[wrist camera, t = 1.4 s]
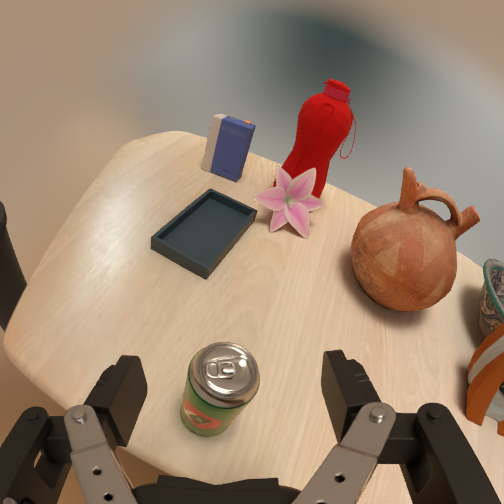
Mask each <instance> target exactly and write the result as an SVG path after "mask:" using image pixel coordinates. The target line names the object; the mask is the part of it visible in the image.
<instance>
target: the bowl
mask: <svg viewBox="0 0 504 504" xmlns="http://www.w3.org/2000/svg"><path fill="white" fill-rule="evenodd" d="M483 274H484V279H485V281H484V284H483V288H482V291H481V294H480V300H479V308H480V315H479V325H480V329H481V331H482V333H483V335H484V337H485V338H486V337H487V336H489V335H490V334H491V333H492V332H493V331H494V330H496V329H497V328H498V327H499V326H500V325H501V324H502V323H504V263H502V262H501V261H498V260H496V259H489V260H487V261H486V262H485V263H484V266H483Z"/></svg>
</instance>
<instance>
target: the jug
mask: <svg viewBox="0 0 504 504" xmlns="http://www.w3.org/2000/svg"><path fill="white" fill-rule="evenodd" d="M423 200H436V201H441V202H443V203H445V204H446V205H447V207H448V208H449V210H450V213H451V218H450V219H449V220H447V221H444V220H443V219H442V218H441V217H440V216H439V215H437V214H436V213H435V212H433V211H432V210H430V209H428V208H426V207H424V206H422V205H419V201H423ZM479 221H480V217H479V215H478V213H477V212H476V210H475V209H474V207H473V206H470V207H468V208H467V209H465V210H464V211H463V212H461V213H459V212H458V209H457V207H456V205H455V203H454V201H453V200H452V199H451V197H450V196H448V195H447V194H446V193H445V192H443V191H442V190H438V189H435V188H434V189H433V188H428V189H427V188H426V186H425V185H424V184H423V183H421V182H416V178H415V174H414V171H413V170H412V169H411V168H409V167H405V169H404V171H403V181H402V188H401V197H400V201H399V202H394V203H389V204H386V205H383V206H381V207H378V208H376V209H374V210H372V211H370V212H368V213H367V214H366V215H365V216H363V217H362V218H361V220H360V222H359V223H358V226H357V228H356V231H355V233H354V236H353V240H352V262H353V267H354V271H355V275H356V278H357V280H358V282H359V284H360V286H361V287H362V289H363V290H364V292H365V293H366V294H367V295H368V296H369V297H370V298H371V299H372V300H373V301H374V302H376V303H377V304H379V305H380V306H382V307H384V308H387V309H389V310H396V311H418V310H422V309H425V308H429V307H431V306H433V305H434V304H436V303H437V302H439V301H440V300H441V299H442V298H444V297H445V296H446V295H447V294H448V293H449V292H450V290H451V288H452V285H453V283H454V280H455V277H456V271H457V256H456V244H455V240H456V239H457V238H458V237H459V236H460V235H461V234H463V233H464V232H466V231H467V230H468V229H470V228H471V227H473V226H474V225H475V224H477V223H478V222H479Z"/></svg>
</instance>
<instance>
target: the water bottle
mask: <svg viewBox="0 0 504 504" xmlns="http://www.w3.org/2000/svg"><path fill="white" fill-rule="evenodd" d="M324 83H325V84H326V86H325V89H324V91H323V92H324V93H320V94H315V95H314V96H312V97H310V98H309V99H308V100H307V101H306V102H304V104H303V106H302V108H301V110H300V113H299V115H298V124H297V133H296V141H295V144H294V147H293V150H292V151H291V153H290V155H289V156H288V158H287V159H286V161H285V162H284V164H283V165H282V167H281V168H282V169H283V170H285V171H286V172H287V173H288V175H289V176H290V177H291V178H292V180H293V179H295V178H296V177H297V176H299V175H301V174H302V173H304V172H306V171H307V170H309V169H312V168H315V169H316V179H315V184H314V187H313V191H312V193H311V195H313V196H315V197H316V198H318V199H319V197H320V195H321V193H322V191H323V188H324V186H325V182H326V177H327V172H328V167H329V162H330V159H331V158H332V157H333V155H334V154H335V152H336V151H337V149H338V148H339V146H340V145H341V143H342V142H343V140H344V139H345V138H347V137H346V136H348V134H349V133H348V132H349V131H350V129H351V126H352V121H353V118H354V116H353V111H352V110H351V108H350V106H349V102H350V100H351V99H348V96H349V94H350V91H351V90H350V89H349V88H348V87H347V86H346V85H345V84H344V83H342V82H339V81H336V80H332V79H328V81H327V83H326V82H324ZM346 102H347V103H348V104H347V103H346ZM354 120H355V119H354ZM355 124H356V123H355ZM354 136H355V135H354ZM353 142H354V141H353ZM340 153H341V152H340ZM340 156H341V154H340ZM347 157H348V156H347ZM341 158H343V157H342V156H341ZM344 159H345V158H344ZM273 187H277V184H276V179H275V181H274V186H273Z"/></svg>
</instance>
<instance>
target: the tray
mask: <svg viewBox="0 0 504 504" xmlns="http://www.w3.org/2000/svg"><path fill="white" fill-rule="evenodd" d="M256 214H257V210H255V209H253V208H251V207H249V206H247V205H245V204H243V203H241V202H239V201H236V200H234V199H232V198H230V197H228V196H226V195H224V194H222V193H219V192H217V191H215V190H213V189H211V188H210V189H209V190H207V191H206V192H205V193H204V194H202V195H201V196H200V197H199V198H197V199H196V200H195V201H194V202H192V203H191V204H190V205H189V206H187V207H186V208H185V209H184V210H183V211H181V212H180V213H179V214H178V215H177V216H175V217H174V218H173V219H172V220H171V221H169V222H168V223H167V224H166V225H165V226H164V227H162V228H161V229H160V230H159V231H158V232H157V233H155V234H154V235H153V236H152V237H151V249H153V250H155V251H157V252H158V253H160V254H162V255H164V256H165V257H167V258H169V259H171V260H172V261H174V262H176V263H178V264H179V265H181V266H183V267H185V268H187V269H188V270H190V271H192V272H194V273H195V274H197V275H199V276H201V277H203V278H205V279H207V278H208V276H209V275H210V274H211V273H212V271H213V270H214V269H215V268H216V267H217V265H218V264H219V263H220V262H221V260H222V259H223V258H224V257H225V255H226V254H227V253H228V252H229V251H230V249H231V248H232V247H233V246H234V244H235V243H236V242H237V241H238V240H239V238H240V237H241V236H242V235H243V233H244V232H245V231H246V230H247V229H248V227H249V226H250V225H251V224H252V222H253V221H254V220H255V217H256Z"/></svg>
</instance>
